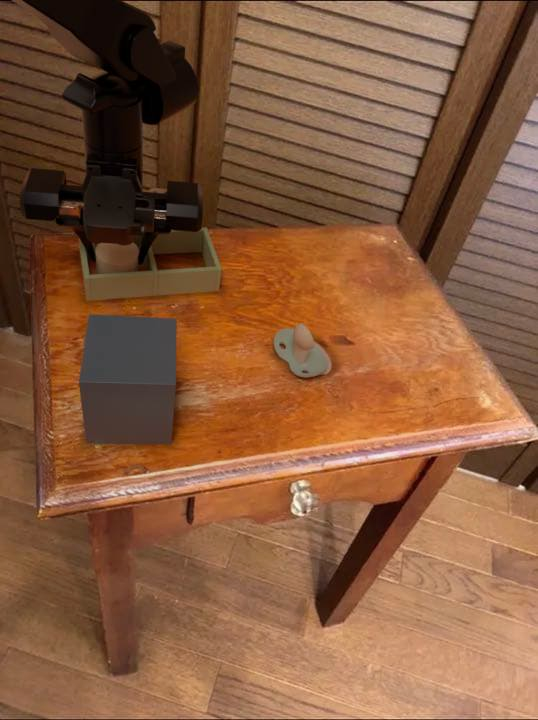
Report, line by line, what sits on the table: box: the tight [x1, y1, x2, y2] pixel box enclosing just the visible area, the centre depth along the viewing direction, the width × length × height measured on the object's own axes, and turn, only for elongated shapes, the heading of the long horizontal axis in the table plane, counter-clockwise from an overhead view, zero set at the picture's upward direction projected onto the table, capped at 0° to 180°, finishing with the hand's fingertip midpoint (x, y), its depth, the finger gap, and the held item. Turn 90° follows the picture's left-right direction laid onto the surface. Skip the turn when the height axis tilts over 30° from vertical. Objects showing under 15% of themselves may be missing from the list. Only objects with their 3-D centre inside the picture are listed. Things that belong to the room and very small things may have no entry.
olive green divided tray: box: [77, 227, 223, 302], centre depth 72 cm, size 16×8×4 cm, turn 107°
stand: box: [78, 313, 178, 446], centre depth 56 cm, size 8×8×10 cm
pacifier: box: [273, 322, 333, 378], centre depth 66 cm, size 7×6×6 cm
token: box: [95, 243, 139, 274], centre depth 70 cm, size 5×5×2 cm
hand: (117, 260), depth 70 cm, fingers closed on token, 5 cm apart
